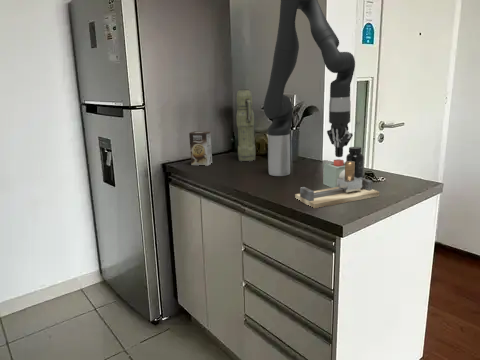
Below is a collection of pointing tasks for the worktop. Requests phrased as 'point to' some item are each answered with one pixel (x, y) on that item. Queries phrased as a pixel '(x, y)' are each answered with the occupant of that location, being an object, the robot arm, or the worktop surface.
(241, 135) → the thermos
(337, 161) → the button
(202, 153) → the coffee box
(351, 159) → the supplement bottle
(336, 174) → the button box
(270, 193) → the worktop surface
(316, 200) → the rail track
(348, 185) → the carriage
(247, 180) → the worktop surface
